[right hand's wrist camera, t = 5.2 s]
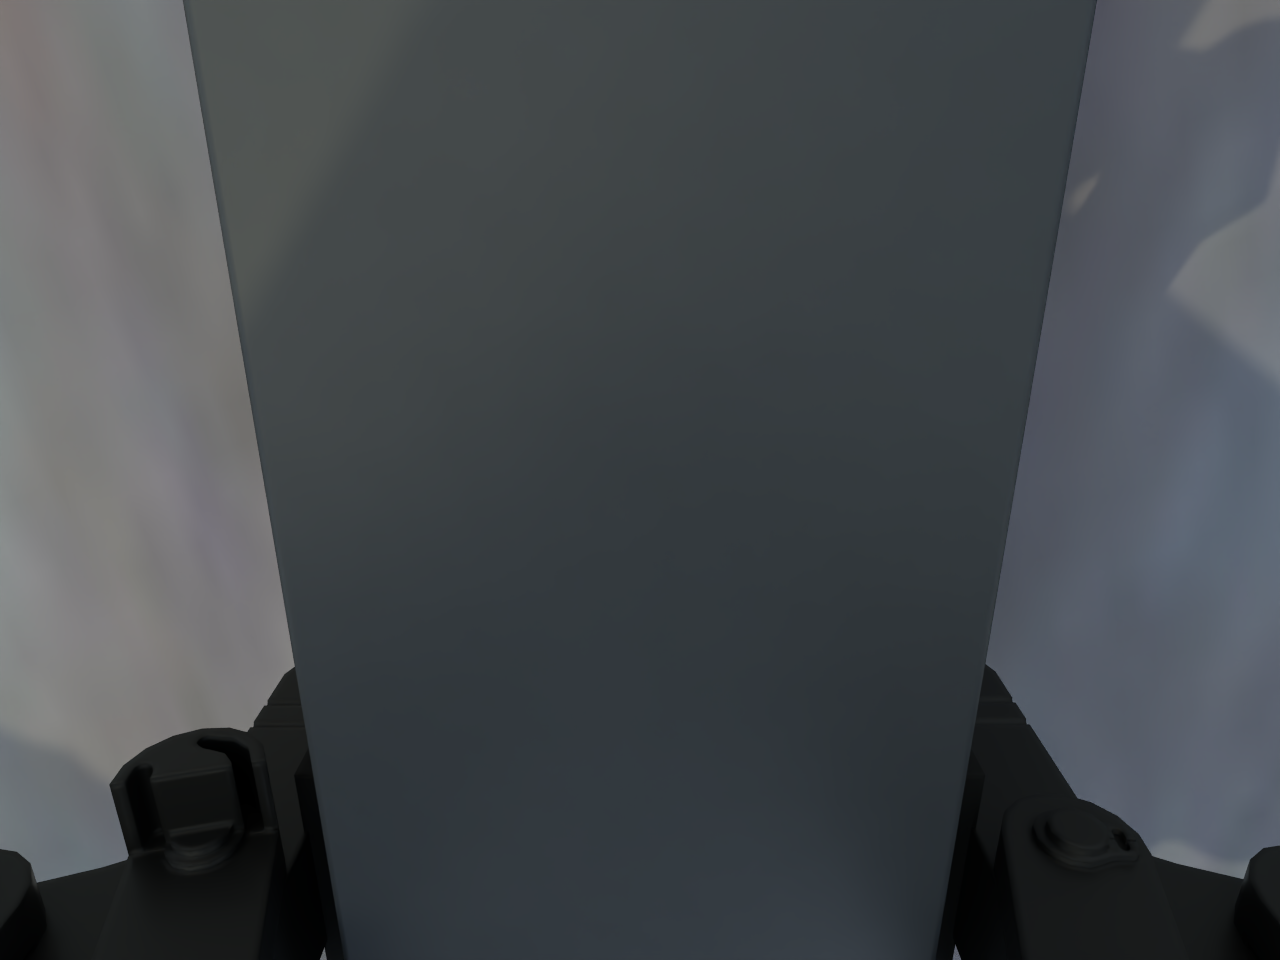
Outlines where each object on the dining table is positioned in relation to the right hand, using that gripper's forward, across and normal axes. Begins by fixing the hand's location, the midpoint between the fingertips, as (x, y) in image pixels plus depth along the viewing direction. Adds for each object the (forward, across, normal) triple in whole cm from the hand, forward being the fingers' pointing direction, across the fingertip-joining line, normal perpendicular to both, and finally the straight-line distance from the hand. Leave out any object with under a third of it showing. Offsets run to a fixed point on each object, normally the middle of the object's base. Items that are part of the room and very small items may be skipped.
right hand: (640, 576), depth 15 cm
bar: (+1, 0, -7) cm, 7 cm away
